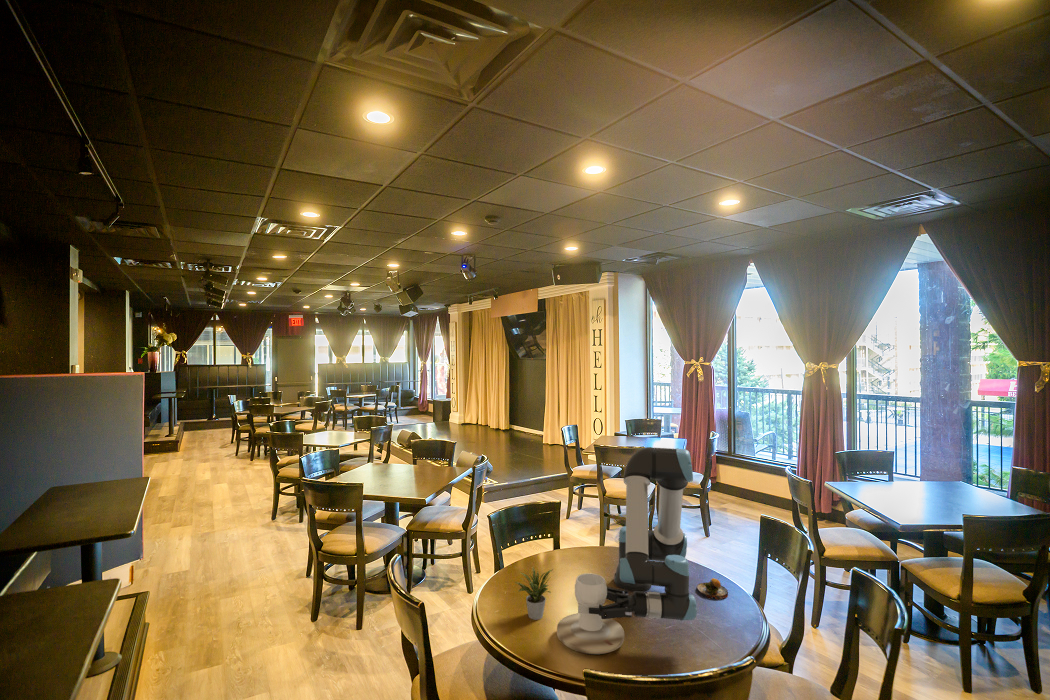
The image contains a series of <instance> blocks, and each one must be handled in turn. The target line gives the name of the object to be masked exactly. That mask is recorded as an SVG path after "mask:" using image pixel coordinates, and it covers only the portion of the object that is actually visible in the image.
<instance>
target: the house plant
mask: <svg viewBox="0 0 1050 700" xmlns="http://www.w3.org/2000/svg"><path fill="white" fill-rule="evenodd" d="M531 568H532V576H531V574H529V575H528V574H527V573H526V574H525V573H523V572H520V571H518V573H520V574H521V575H522V576H523V577H525V578H526V580H527V583H528V585H529V587H528V586H527V585H525V584H523V583H521V582H518V581H514V583H515V584H517V585H518V586H520V588H519V590H518V591H517V593H518V592H519V593H520V592H522V591H523V592H526V593H527V594H528V595H527V596H526V598H525V601H526V608H527V615H528V618H529V619H531V620H534V621H535V620H536V621H538V620H541V619H542V618H543V616H544V610H545V605H546V600H547V598H546V597H545V596H544V595H543V594H544V593H546V592H547V593H549V594H552V593H551V591H550V590H549V591H548V589H549V588H548V587H549V586H550V585H549V584H547V583H548V581H549V580H550V579H551V577H549V576H550V573H551V572H552V571H553V570H554V568H552V569H549V570H548V571H547V572H544V573H542V574H541V576H540V575H539V571H538V570H537V572H536V569H535V568H534V566H532V567H531ZM539 577H540V578H539ZM548 577H549V578H548ZM519 579H520V580H522V581H525V579H524V578H519ZM540 582H541V583H540Z"/></svg>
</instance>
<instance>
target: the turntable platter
mask: <svg viewBox="0 0 1050 700" xmlns="http://www.w3.org/2000/svg"><path fill="white" fill-rule="evenodd" d="M579 617H580V613H578V612H577V613H573V614H569V615H566V616H565V617H563V618H561V619H560V620H559V622H558V623H557V625H556V636H557V638H558V640H559V641H560V642H561V643H562V644H563V645H564V646H565V647H567V648H569V649H571V650H572V651H575V650H576V652H578V651H579V652H578V653H580V652H582V653H581V654H584V653H588V654H587V655H590V654H599V655H602V654H603V653H604V654H608V653H611V652H614V651H616V650H618V649H620V648H621V646H622V645H624V642H625V631H624V628H623V627H622V625H621V623H619V622H618V621H616V620H614V618H611V619H602V618H601V620H602V628H601V629H600V630H597V631H587V630H584V629H582V628H581V627H580V626H579ZM604 654H603V655H604Z"/></svg>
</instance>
